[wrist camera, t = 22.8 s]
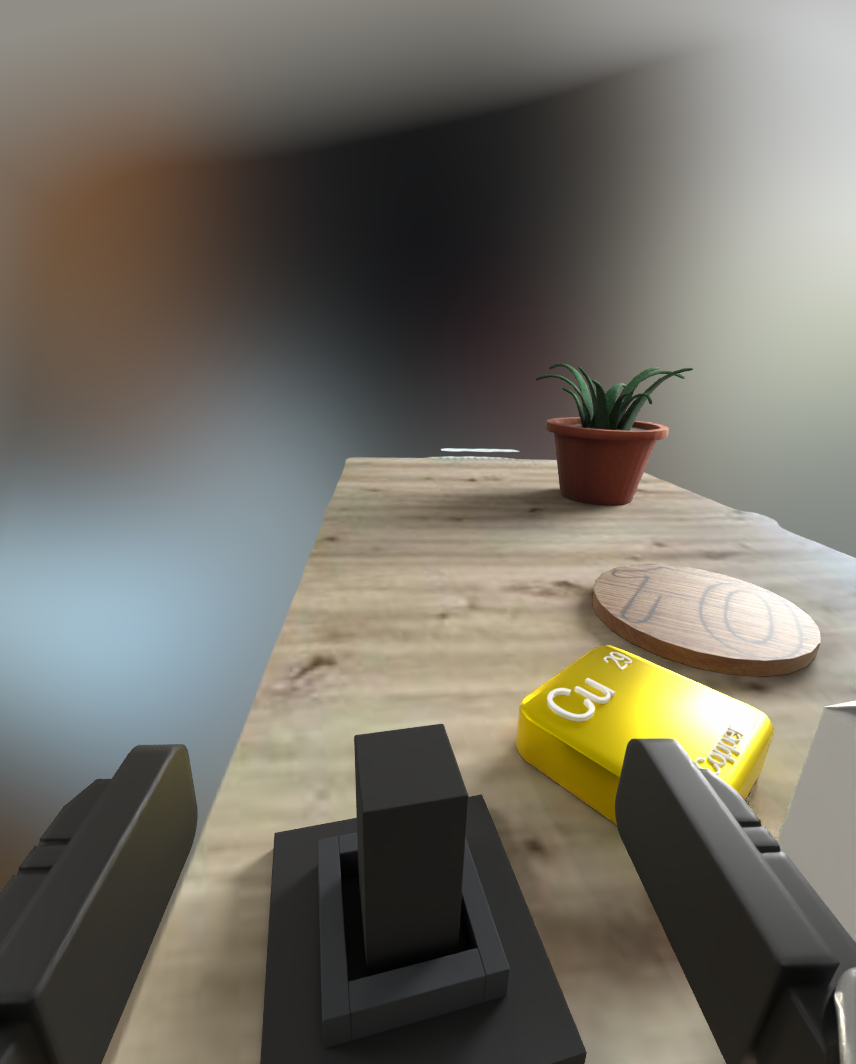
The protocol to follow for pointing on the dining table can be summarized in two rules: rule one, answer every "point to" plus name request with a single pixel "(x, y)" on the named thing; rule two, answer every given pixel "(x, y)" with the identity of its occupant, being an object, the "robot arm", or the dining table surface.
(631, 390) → the potted plant
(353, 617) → the dining table surface
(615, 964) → the dining table surface
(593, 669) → the element tile
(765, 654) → the trivet
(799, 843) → the milk carton
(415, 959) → the block
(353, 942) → the base pad
